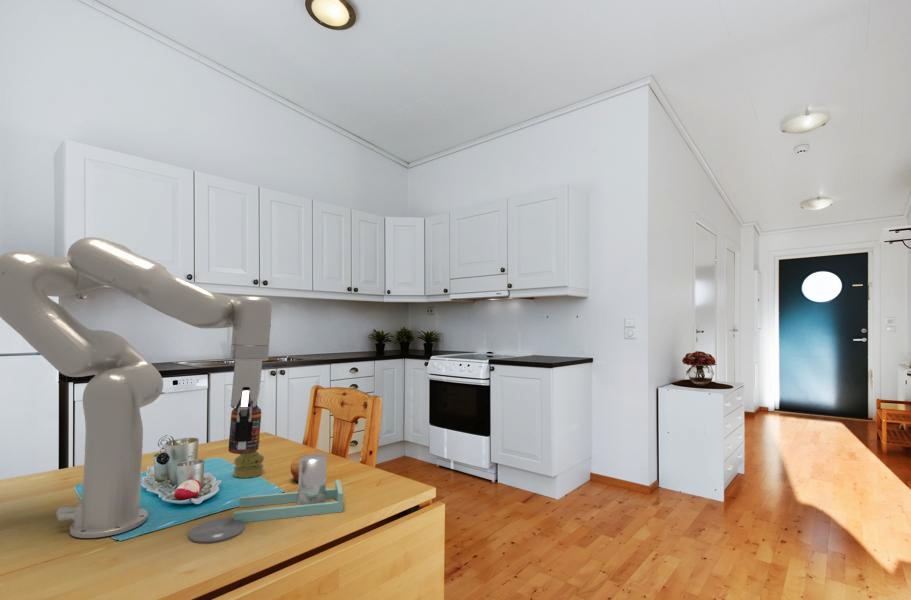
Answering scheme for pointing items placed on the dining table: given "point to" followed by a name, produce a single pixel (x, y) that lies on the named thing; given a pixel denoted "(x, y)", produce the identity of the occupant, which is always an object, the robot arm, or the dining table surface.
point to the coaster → (216, 530)
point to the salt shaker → (248, 465)
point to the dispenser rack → (288, 510)
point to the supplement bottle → (254, 443)
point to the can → (312, 479)
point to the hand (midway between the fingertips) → (244, 436)
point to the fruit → (297, 466)
